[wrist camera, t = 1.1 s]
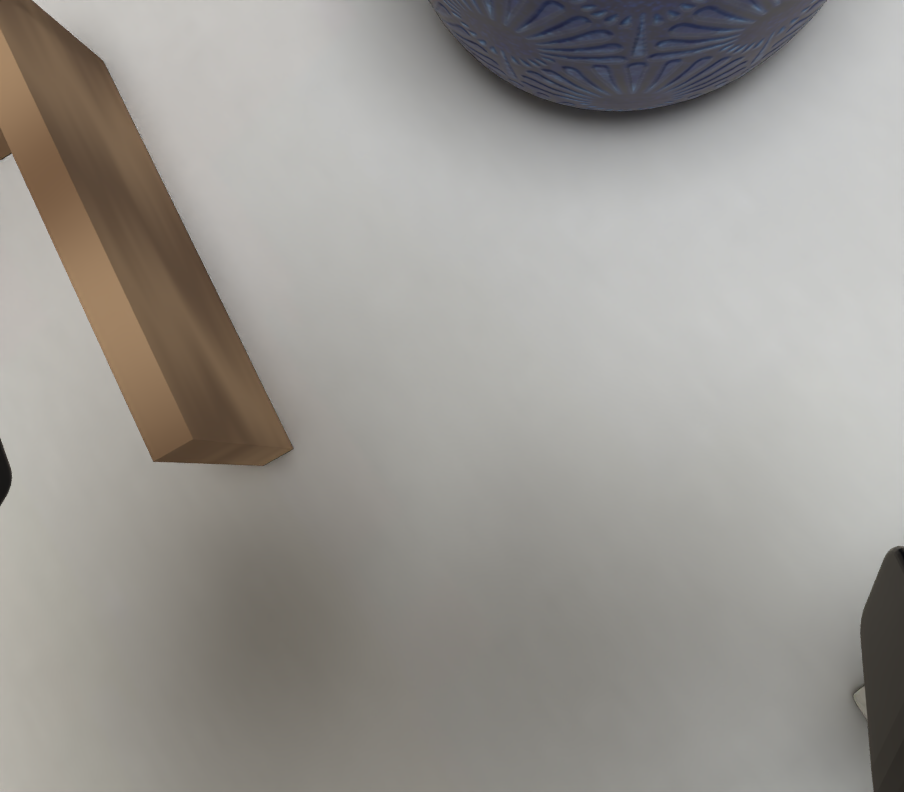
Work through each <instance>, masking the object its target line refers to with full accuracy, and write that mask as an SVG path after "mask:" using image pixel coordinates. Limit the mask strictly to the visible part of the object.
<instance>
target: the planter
mask: <svg viewBox="0 0 904 792" xmlns="http://www.w3.org/2000/svg"><path fill="white" fill-rule="evenodd" d="M826 1H827V0H429V2H430V3H431V5H432V7H433V8H434V10H435V11H436V13H437V14H438V16H439V17H440V19H441V20H442V22H443V23H444V24H445V25H446V27H447V28H448V29H449V30H450V31H451V33H452V34H453V35H454V36H455V37H456V39H457V40H458V41H459V42H460V43H461V44H462V46H463V47H465V48H466V49H467V50H468V51H469V52H470V53H471V54H472V55H473V56H474V57H475V58H476V59H477V60H478V61H479V62H481V63H482V64H483V65H484V66H486V67H487V68H488V69H490V70H491V71H492V72H494V73H495V74H496V75H498V76H499V77H500V78H502V79H504V80H505V81H507V82H509V83H510V84H512V85H514V86H515V87H517V88H519V89H521V90H523V91H526V92H528V93H530V94H532V95H535V96H537V97H539V98H543V99H546V100H549V101H552V102H555V103H558V104H562V105H567V106H571V107H576V108H581V109H590V110H599V111H632V110H643V109H651V108H657V107H662V106H667V105H672V104H676V103H679V102H683V101H686V100H690V99H693V98H696V97H698V96H701V95H703V94H706V93H709V92H711V91H714V90H716V89H718V88H720V87H722V86H724V85H726V84H728V83H730V82H732V81H734V80H736V79H738V78H739V77H741V76H742V75H744V74H746V73H747V72H749V71H750V70H752V69H753V68H755V67H756V66H758V65H759V64H761V63H762V62H763V61H765V60H766V59H767V58H769V57H770V56H771V55H772V54H774V53H775V52H776V51H777V50H779V49H780V48H781V47H782V46H784V45H785V44H786V43H787V42H788V41H789V40H790V39H791V38H792V37H793V36H794V35H795V34H796V33H797V32H798V31H799V30H800V29H802V28H803V27H804V26H805V25H806V24H807V23H808V22H809V21H810V20H811V19H812V17H813V16H814V15H815V14H816V13H817V12H818V10H819V9H820V8H821V7H822V6H823V4H824V3H825V2H826Z"/></svg>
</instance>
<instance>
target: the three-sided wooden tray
mask: <svg viewBox="0 0 904 792" xmlns="http://www.w3.org/2000/svg"><path fill="white" fill-rule="evenodd" d="M10 153H12V154H13V156H14V159H15V161H16V163H17V165H18V167H19V169H20V172H21V174H22V176H23V178H24V180H25V183H26V185H27V187H28V189H29V191H30V193H31V196H32V198H33V200H34V202H35V204H36V207H37V209H38V211H39V213H40V215H41V217H42V220H43V222H44V224H45V226H46V228H47V231H48V233H49V235H50V237H51V239H52V241H53V244H54V246H55V248H56V250H57V252H58V255H59V257H60V259H61V261H62V263H63V265H64V268H65V270H66V272H67V274H68V276H69V279H70V281H71V283H72V285H73V287H74V289H75V292H76V294H77V296H78V298H79V300H80V303H81V305H82V307H83V309H84V311H85V313H86V316H87V318H88V320H89V322H90V324H91V327H92V329H93V331H94V333H95V335H96V337H97V340H98V342H99V344H100V346H101V348H102V351H103V353H104V355H105V357H106V359H107V361H108V364H109V366H110V368H111V370H112V372H113V375H114V377H115V379H116V381H117V383H118V385H119V388H120V390H121V392H122V394H123V396H124V399H125V401H126V403H127V405H128V407H129V409H130V412H131V414H132V416H133V418H134V420H135V423H136V425H137V427H138V429H139V431H140V433H141V436H142V438H143V440H144V442H145V444H146V447H147V449H148V451H149V453H150V455H151V457H152V460H153V462H177V463H204V464H231V465H258V466H264V465H265V464H267V463H269V462H271V461H273V460H274V459H276V458H278V457H280V456H282V455H283V454H285V453H287V452H289V451H290V450H292V449H293V447H292V445H291V443H290V441H289V439H288V437H287V435H286V433H285V431H284V428H283V426H282V424H281V422H280V420H279V418H278V416H277V414H276V412H275V410H274V408H273V406H272V404H271V402H270V400H269V398H268V396H267V394H266V392H265V390H264V388H263V386H262V384H261V382H260V380H259V378H258V376H257V373H256V371H255V369H254V367H253V365H252V363H251V361H250V359H249V357H248V355H247V353H246V351H245V349H244V347H243V345H242V343H241V341H240V339H239V337H238V335H237V333H236V331H235V329H234V327H233V325H232V323H231V320H230V318H229V316H228V314H227V312H226V310H225V308H224V306H223V304H222V302H221V300H220V298H219V296H218V294H217V292H216V290H215V288H214V286H213V284H212V282H211V280H210V278H209V276H208V274H207V272H206V270H205V267H204V265H203V263H202V261H201V259H200V257H199V255H198V253H197V251H196V249H195V247H194V245H193V243H192V241H191V239H190V237H189V235H188V233H187V231H186V229H185V227H184V225H183V223H182V221H181V219H180V217H179V215H178V212H177V210H176V208H175V206H174V204H173V202H172V200H171V198H170V196H169V194H168V192H167V190H166V188H165V186H164V184H163V182H162V180H161V178H160V176H159V174H158V172H157V170H156V168H155V166H154V164H153V162H152V159H151V157H150V155H149V153H148V151H147V149H146V147H145V145H144V143H143V141H142V139H141V137H140V135H139V133H138V131H137V129H136V127H135V125H134V123H133V121H132V119H131V117H130V115H129V113H128V111H127V109H126V106H125V104H124V102H123V100H122V98H121V96H120V94H119V92H118V90H117V88H116V86H115V84H114V82H113V80H112V78H111V76H110V74H109V72H108V70H107V68H106V66H105V64H104V62H103V60H101V59H100V58H99V57H98V56H97V55H96V54H94V53H93V52H92V51H91V50H90V49H89V48H87V47H86V46H85V45H84V44H83V43H81V42H80V41H79V40H78V39H77V38H76V37H74V36H73V35H72V34H71V33H70V32H69V31H67V30H66V29H65V28H64V27H63V26H62V25H60V24H59V23H58V22H57V21H56V20H54V19H53V18H52V17H51V16H50V15H49V14H47V13H46V12H45V11H44V10H43V9H42V8H40V7H39V6H38V5H37V4H36V3H35V2H33V1H32V0H0V160H1V159H2V158H4V157H5V156H7V155H9V154H10Z"/></svg>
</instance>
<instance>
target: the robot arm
mask: <svg viewBox="0 0 904 792" xmlns="http://www.w3.org/2000/svg"><path fill="white" fill-rule="evenodd" d="M11 481H12V471H11V467H10V464H9V462H8V459H7V456H6V453H5V450H4V448H3V445H2V442H1V439H0V506H1V504H2V502H3V501H4V499H5V497H6V496H7V494H8V492H9V489H10V486H11ZM860 635H861V649H862V661H863V673H864V686H865V698H866V710H867V723H868V735H869V747H870V759H871V771H872V781H873V790H874V792H904V546H897V547H894V548H892V549H890V551H889V552H888V553H887V554H886V556H885V558H884V560H883V562H882V565H881V567H880V570H879V572H878V575H877V577H876V580H875V582H874V585H873V587H872V590H871V592H870V595H869V597H868V600H867V602H866V605H865V607H864V610H863V614H862V619H861V630H860Z"/></svg>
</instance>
